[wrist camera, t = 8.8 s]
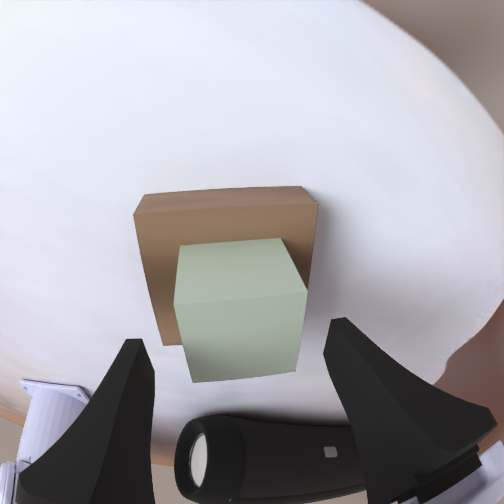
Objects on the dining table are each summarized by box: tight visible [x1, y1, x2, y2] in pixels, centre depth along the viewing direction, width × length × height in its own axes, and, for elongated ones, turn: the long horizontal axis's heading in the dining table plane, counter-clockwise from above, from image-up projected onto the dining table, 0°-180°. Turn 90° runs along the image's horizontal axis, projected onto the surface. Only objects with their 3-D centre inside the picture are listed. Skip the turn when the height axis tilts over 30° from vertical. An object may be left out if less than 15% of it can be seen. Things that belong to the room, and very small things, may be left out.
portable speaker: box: [174, 415, 366, 504], centre depth 25 cm, size 26×10×10 cm, turn 58°
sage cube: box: [174, 238, 308, 383], centre depth 12 cm, size 4×4×4 cm
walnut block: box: [133, 186, 318, 346], centre depth 15 cm, size 8×8×3 cm
